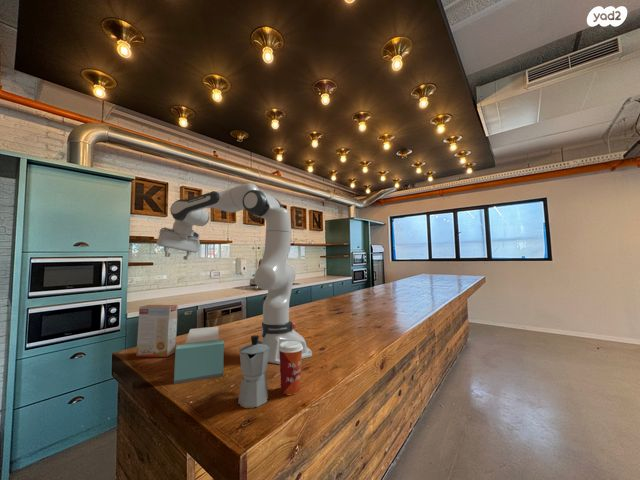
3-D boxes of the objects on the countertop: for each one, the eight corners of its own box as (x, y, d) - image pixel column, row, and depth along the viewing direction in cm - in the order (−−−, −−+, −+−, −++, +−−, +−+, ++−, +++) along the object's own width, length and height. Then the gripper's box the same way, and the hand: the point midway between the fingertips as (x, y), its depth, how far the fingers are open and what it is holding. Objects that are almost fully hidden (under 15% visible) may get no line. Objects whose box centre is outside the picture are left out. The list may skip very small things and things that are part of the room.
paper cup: (292, 400, 72) (292, 349, 73) (272, 392, 76) (273, 345, 77) (308, 388, 78) (308, 342, 79) (288, 382, 82) (289, 338, 83)
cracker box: (176, 352, 110) (178, 304, 111) (166, 358, 104) (169, 306, 106) (146, 351, 111) (149, 304, 113) (135, 356, 105) (138, 306, 107)
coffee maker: (265, 412, 66) (267, 342, 67) (231, 414, 65) (233, 343, 67) (272, 385, 80) (273, 327, 82) (244, 386, 80) (245, 328, 81)
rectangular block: (220, 342, 123) (221, 320, 124) (223, 375, 87) (224, 343, 88) (186, 346, 117) (187, 323, 118) (173, 383, 81) (175, 349, 82)
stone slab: (218, 335, 119) (218, 326, 119) (218, 349, 99) (218, 339, 99) (189, 338, 114) (190, 329, 115) (184, 354, 94) (184, 343, 95)
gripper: (164, 225, 118) (158, 254, 115) (203, 236, 135) (198, 261, 132) (157, 226, 121) (151, 254, 118) (195, 236, 138) (191, 261, 135)
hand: (176, 258), depth 125 cm, fingers open, 8 cm apart
